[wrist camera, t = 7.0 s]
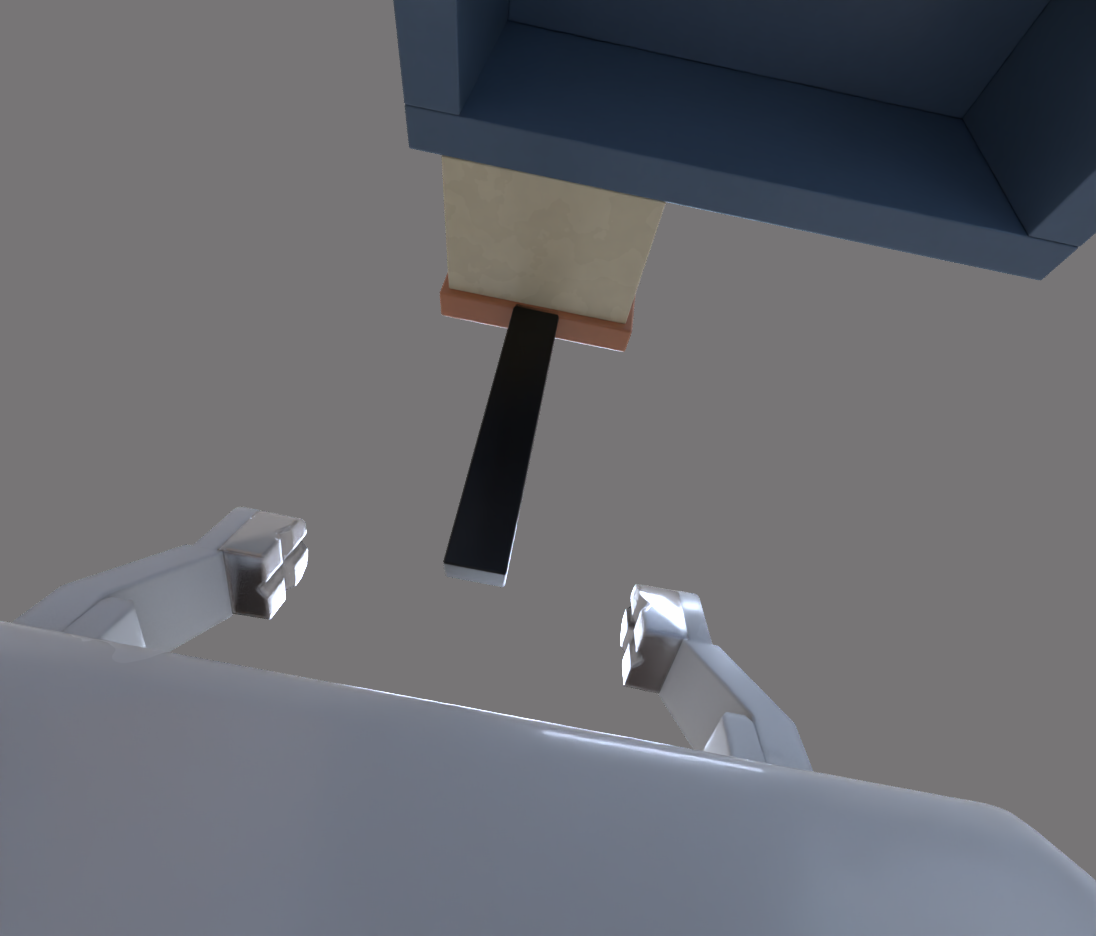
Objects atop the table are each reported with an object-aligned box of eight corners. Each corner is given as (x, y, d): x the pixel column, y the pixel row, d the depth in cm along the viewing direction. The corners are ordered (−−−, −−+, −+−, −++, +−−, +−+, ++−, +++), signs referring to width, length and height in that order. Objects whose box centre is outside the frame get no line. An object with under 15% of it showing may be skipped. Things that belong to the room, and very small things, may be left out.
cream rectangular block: (441, 155, 15) (448, 288, 20) (666, 202, 16) (625, 324, 20) (489, 58, 19) (487, 188, 23) (671, 97, 19) (636, 219, 24)
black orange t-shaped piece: (338, 543, 14) (355, 569, 16) (608, 594, 14) (592, 615, 16) (482, 183, 24) (481, 227, 25) (643, 217, 24) (630, 257, 26)
